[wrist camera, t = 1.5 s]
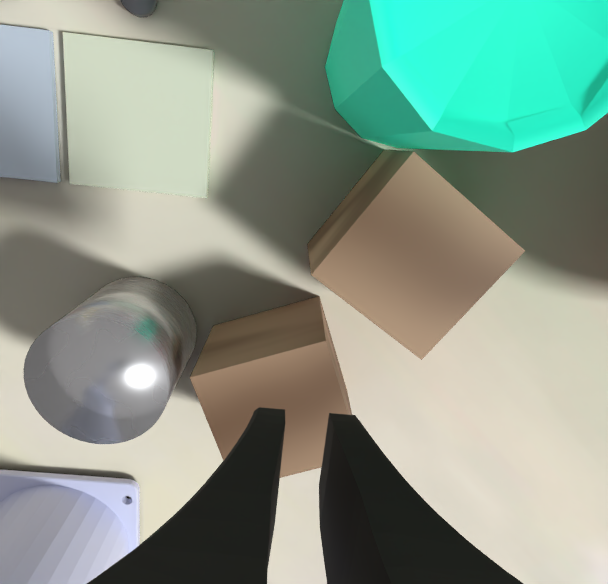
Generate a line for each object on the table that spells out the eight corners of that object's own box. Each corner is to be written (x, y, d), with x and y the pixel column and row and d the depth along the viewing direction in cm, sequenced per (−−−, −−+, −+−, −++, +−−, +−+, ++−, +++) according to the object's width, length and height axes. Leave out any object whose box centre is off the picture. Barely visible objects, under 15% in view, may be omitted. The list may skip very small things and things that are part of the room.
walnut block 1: (346, 390, 22) (360, 457, 18) (247, 416, 23) (235, 488, 18) (319, 295, 21) (326, 340, 16) (213, 325, 21) (189, 377, 16)
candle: (296, 35, 18) (298, -169, 6) (439, -59, 17) (751, -496, 5) (370, 176, 19) (480, 223, 8) (503, 97, 18) (850, 19, 7)
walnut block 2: (392, 311, 21) (421, 359, 16) (307, 243, 20) (311, 274, 15) (470, 225, 20) (525, 250, 15) (383, 149, 19) (414, 151, 14)
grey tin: (194, 383, 22) (166, 449, 17) (87, 374, 22) (29, 438, 17) (198, 282, 20) (169, 324, 16) (83, 271, 20) (18, 310, 15)
